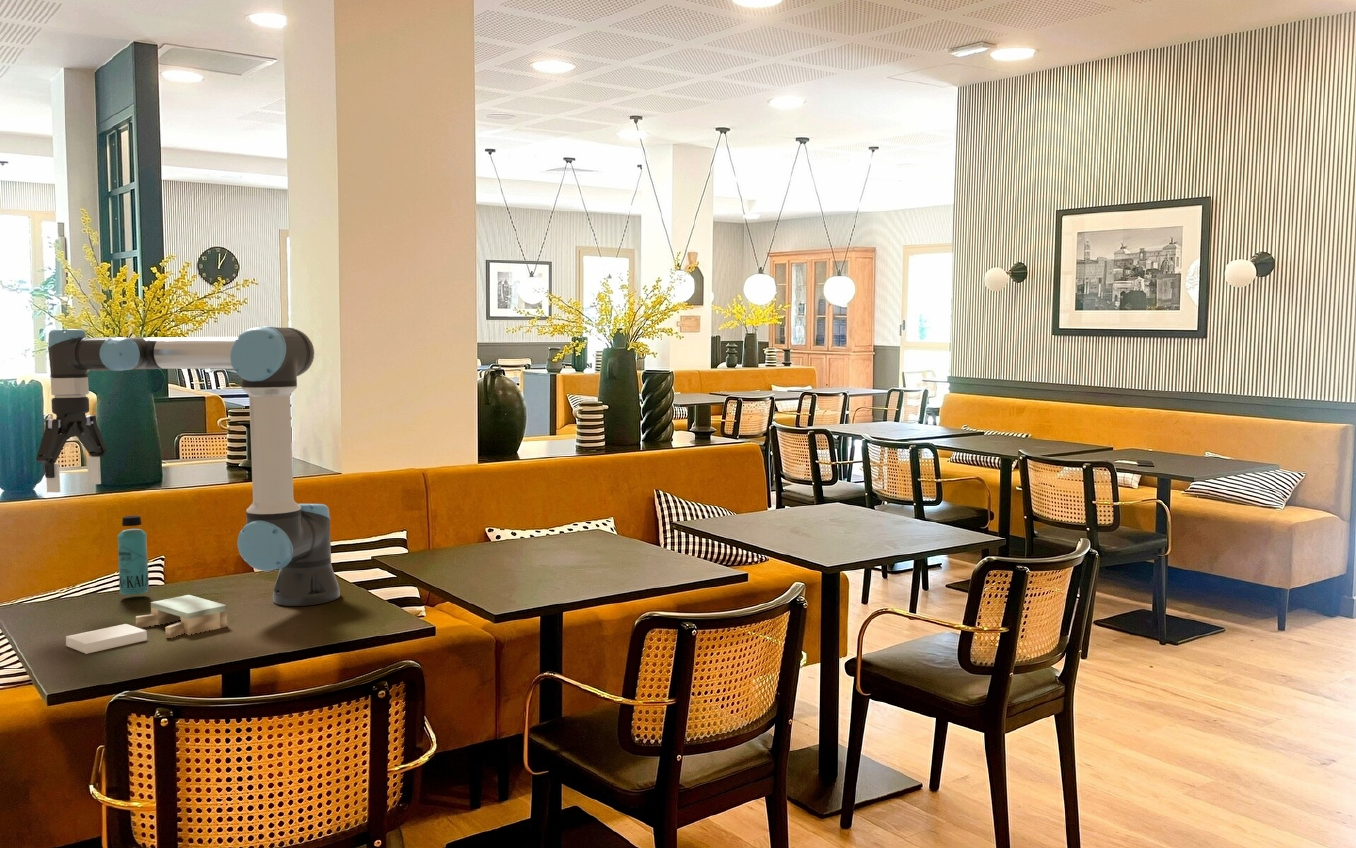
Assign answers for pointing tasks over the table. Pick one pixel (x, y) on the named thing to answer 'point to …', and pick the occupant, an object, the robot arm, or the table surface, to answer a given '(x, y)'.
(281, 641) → the table surface
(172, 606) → the miniature low table
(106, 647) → the white eraser slab
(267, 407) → the robot arm
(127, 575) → the beverage bottle
